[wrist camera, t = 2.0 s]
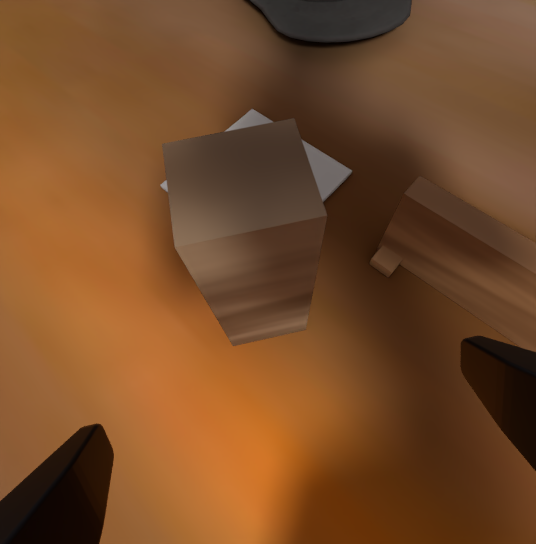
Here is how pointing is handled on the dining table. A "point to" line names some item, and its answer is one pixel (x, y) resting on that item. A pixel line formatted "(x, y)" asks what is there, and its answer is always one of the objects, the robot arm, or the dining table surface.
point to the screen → (464, 258)
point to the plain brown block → (248, 226)
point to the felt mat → (323, 166)
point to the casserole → (334, 18)
